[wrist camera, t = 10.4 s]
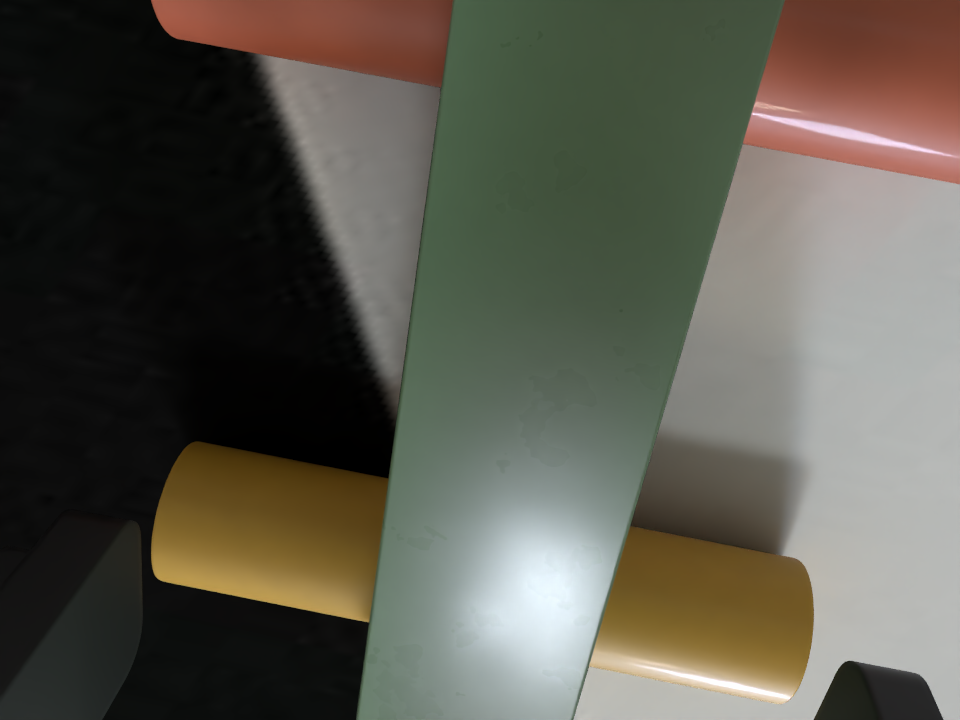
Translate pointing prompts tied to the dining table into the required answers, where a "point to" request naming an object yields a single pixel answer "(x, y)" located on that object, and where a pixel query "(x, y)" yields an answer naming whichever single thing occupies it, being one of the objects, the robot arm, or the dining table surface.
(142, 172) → the dining table surface
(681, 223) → the green bar
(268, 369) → the dining table surface
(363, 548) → the ochre rod
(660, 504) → the dining table surface
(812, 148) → the terracotta rod
